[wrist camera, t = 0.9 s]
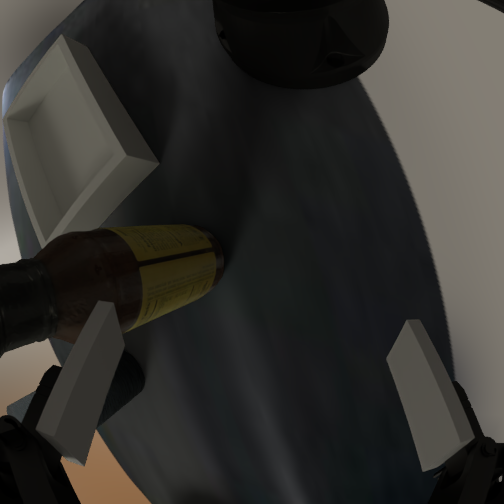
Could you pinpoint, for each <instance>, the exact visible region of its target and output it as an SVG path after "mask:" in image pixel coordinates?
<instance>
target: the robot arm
mask: <svg viewBox="0 0 504 504" xmlns="http://www.w3.org/2000/svg"><path fill="white" fill-rule="evenodd" d="M212 1H213V10H214V18H215V27H216V32H217V35H218V38H219V40H220V43H221V44H222V46H223V48H224V49H225V50H226V52H227V53H228V54H229V56H230V57H231V59H232V60H233V61H234V62H235V63H236V65H237V66H239V67H240V68H241V69H242V70H243V71H245V72H246V73H247V74H249V75H251V76H252V77H254V78H256V79H258V80H260V81H263V82H265V83H269V84H272V85H275V86H280V87H285V88H293V89H316V88H324V87H329V86H334V85H337V84H340V83H343V82H346V81H349V80H351V79H353V78H355V77H357V76H358V75H360V74H362V73H363V72H365V71H366V70H367V69H368V68H370V67H371V65H373V64H374V63H375V61H376V60H377V59H378V57H379V56H380V54H381V53H382V51H383V48H384V46H385V43H386V38H387V33H388V28H389V16H388V11H387V7H386V4H385V1H384V0H212ZM478 1H481V2H483V3H485V4H487V5H489V6H491V7H493V8H495V9H497V10H499V11H501V12H503V13H504V0H478ZM124 347H125V343H124V340H123V336H122V333H121V329H120V325H119V322H118V318H117V314H116V310H115V306H114V303H112V302H105V301H98V302H97V304H96V306H95V308H94V309H93V311H92V313H91V315H90V316H89V318H88V320H87V322H86V324H85V326H84V327H83V329H82V331H81V333H80V335H79V337H78V339H77V340H76V342H75V344H74V346H73V348H72V350H71V352H70V354H69V356H68V358H67V360H66V362H65V364H64V366H63V367H59V366H56V365H53V366H52V367H51V368H49V369H48V370H47V371H46V372H45V373H44V375H43V377H42V379H41V381H40V383H39V384H40V385H39V386H38V387H37V389H36V391H35V392H36V393H35V394H34V396H33V398H32V400H31V402H30V404H29V407H28V409H27V411H26V413H25V416H24V418H23V420H22V422H21V423H20V421H19V420H17V419H16V418H15V417H14V416H11V415H5V416H2V417H0V504H81V503H80V501H79V499H78V497H77V495H76V493H75V491H74V489H73V487H72V485H71V483H70V481H69V478H68V476H67V474H66V472H65V470H64V467H63V465H62V463H61V462H60V460H61V457H62V456H63V457H65V459H67V460H68V461H70V462H73V463H76V464H79V465H82V466H85V463H86V460H87V456H88V453H89V449H90V446H91V443H92V439H93V436H94V433H95V430H96V427H97V423H98V420H99V417H100V414H101V411H102V408H103V405H104V402H105V399H106V396H107V393H108V391H109V388H110V385H111V382H112V379H113V377H114V374H115V371H116V368H117V366H118V363H119V360H120V358H121V355H122V352H123V350H124ZM386 359H387V362H388V365H389V367H390V370H391V373H392V376H393V378H394V381H395V384H396V387H397V390H398V393H399V395H400V398H401V401H402V404H403V407H404V410H405V413H406V417H407V420H408V423H409V426H410V429H411V432H412V436H413V439H414V442H415V446H416V449H417V453H418V456H419V460H420V463H421V467H422V471H423V472H424V471H427V470H430V469H433V468H436V467H438V466H439V465H441V464H442V463H444V462H445V464H446V466H445V467H444V468H442V469H441V470H439V471H438V472H436V473H435V474H434V476H433V478H435V477H437V476H438V475H440V474H441V475H440V477H438V478H437V479H438V482H437V484H436V487H435V489H434V491H433V493H432V496H431V498H430V500H429V502H428V504H504V443H496V442H495V441H494V440H493V439H492V438H490V437H485V436H484V435H483V432H482V430H481V428H480V425H479V423H478V420H477V418H476V416H475V413H474V411H473V408H471V404H470V402H469V400H468V397H467V395H466V393H465V391H464V389H463V388H462V387H461V386H460V384H459V383H458V382H457V381H454V382H451V380H450V378H449V376H448V374H447V372H446V369H445V367H444V365H443V363H442V361H441V359H440V357H439V355H438V353H437V351H436V349H435V347H434V346H433V344H432V342H431V340H430V338H429V336H428V334H427V332H426V330H425V329H424V327H423V325H422V323H421V321H420V320H406V322H405V324H404V326H403V328H402V330H401V332H400V334H399V336H398V338H397V340H396V342H395V344H394V346H393V347H392V349H391V351H390V353H389V355H388V356H387V358H386ZM500 476H502V481H501V482H499V477H500Z"/></svg>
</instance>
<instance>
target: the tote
mask: <svg viewBox="0 0 504 504" xmlns="http://www.w3.org/2000/svg"><path fill="white" fill-rule="evenodd" d="M3 124H4V129H5V134H6V139H7V143H8V147H9V151H10V155H11V159H12V163H13V167H14V170H15V174H16V177H17V181H18V184H19V187H20V190H21V193H22V197H23V200H24V202H25V205H26V208H27V211H28V214H29V217H30V219H31V222H32V225H33V227H34V230H35V232H36V235H37V237H38V240H39V242H40V245H41V247H42V249H43V248H44V247H45V246H46V245H47V244H48V243H49V242H50V241H52V240H53V239H54V238H56V237H57V236H60V235H62V234H66V233H68V232H72V231H74V232H75V231H91V230H94V229H97V228H99V227H100V225H101V224H102V223H103V222H104V221H105V220H106V219H107V218H108V217H109V215H110V214H111V213H112V212H113V211H114V210H115V209H116V208H117V207H118V206H119V205H120V204H121V202H122V201H123V200H124V199H125V198H126V197H127V196H128V195H129V194H130V193H131V192H132V191H133V190H134V189H135V188H136V187H137V186H138V185H139V184H140V183H141V182H142V181H143V180H144V179H145V178H146V177H147V176H148V175H149V174H150V173H151V172H152V171H153V170H154V169H155V168H156V167H157V166H158V165H159V164H160V163H159V162H158V160H157V158H156V157H155V155H154V154H153V152H152V151H151V149H150V148H149V146H148V144H147V143H146V141H145V140H144V138H143V137H142V135H141V133H140V132H139V130H138V129H137V127H136V126H135V124H134V122H133V121H132V119H131V118H130V116H129V114H128V113H127V111H126V110H125V108H124V106H123V105H122V103H121V102H120V100H119V98H118V97H117V95H116V93H115V92H114V90H113V89H112V87H111V85H110V84H109V82H108V80H107V79H106V77H105V75H104V74H103V72H102V70H101V69H100V67H99V65H98V64H97V62H96V60H95V59H94V57H93V55H92V54H91V52H90V50H89V49H88V47H86V46H84V45H83V44H81V43H79V42H77V41H75V40H73V39H71V38H69V37H67V36H65V35H63V34H61V35H60V37H59V38H58V39H57V40H56V41H55V43H54V44H53V45H52V46H51V48H50V49H49V50H48V51H47V53H46V54H45V55H44V57H43V58H42V59H41V61H40V62H39V63H38V65H37V66H36V67H35V69H34V70H33V72H32V73H31V74H30V76H29V77H28V79H27V80H26V82H25V83H24V85H23V86H22V88H21V89H20V91H19V92H18V94H17V96H16V97H15V99H14V101H13V102H12V104H11V106H10V107H9V109H8V111H7V112H6V114H5V116H4V118H3Z"/></svg>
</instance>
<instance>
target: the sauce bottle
mask: <svg viewBox="0 0 504 504" xmlns="http://www.w3.org/2000/svg"><path fill="white" fill-rule="evenodd" d="M223 271H224V256H223V252H222V247H221V245H220V243H219V242H218V240H217V239H216V238H215V237H214V236H213V235H212V234H211V233H210V232H208V231H207V230H205V229H204V228H202V227H200V226H196V225H194V226H189V225H184V224H179V225H151V226H130V227H110V228H97V229H94V230H91V231H75V232H74V231H72V232H68V233H66V234H62V235H60V236H57V237H56V238H54V239H53V240H52V241H50V242H49V243H48V244H47V245H46V246H45V247H44V248H43V249H42V250H41V251H40V252H39V253H38V254H37V255H36V256H35V257H34V258H30V259H21V260H19V261H17V262H16V263H9V264H2V265H0V358H1V356H2V355H3V354H4V353H5V352H7V351H10V350H13V349H16V348H19V347H22V346H24V345H28V344H31V343H34V342H35V341H37V342H41V341H44V340H45V339H47V338H52V337H53V338H56V339H61V340H64V341H67V342H69V343H72V344H75V342H76V340H77V339H78V337H79V335H80V333H81V331H82V329H83V327H84V326H85V324H86V322H87V320H88V318H89V316H90V315H91V313H92V311H93V309H94V308H95V306H96V304H97V302H98V301H105V302H112V303H114V306H115V310H116V314H117V318H118V322H119V325H120V329H121V333H122V334H123V333H125V332H127V331H130V330H132V329H134V328H136V327H138V326H140V325H143V324H145V323H147V322H149V321H151V320H153V319H156V318H158V317H160V316H162V315H164V314H166V313H169V312H171V311H173V310H175V309H177V308H180V307H182V306H184V305H186V304H188V303H191V302H193V301H195V300H197V299H199V298H201V297H202V296H203V295H205V294H206V293H208V292H209V291H211V290H212V289H213V288H214V287H215V286H216V285H217V283H218V282H219V280H220V279H221V278H222V276H223Z"/></svg>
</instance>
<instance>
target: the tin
mask: <svg viewBox="0 0 504 504" xmlns="http://www.w3.org/2000/svg"><path fill="white" fill-rule="evenodd" d="M144 385H145V378H144V374H143V371H142V369H141V367H140V365H139V364H138V362H137V361H136V360H135V359H134V357H133V356H131V355H130V354H129V353H128V352H126V351H125V350H123V352H122V355H121V358H120V360H119V363H118V366H117V368H116V371H115V374H114V377H113V379H112V382H111V385H110V388H109V391H108V393H107V396H106V399H105V402H104V405H103V408H102V411H101V414H100V417H99V420H98V423H97V427H96V429H97V428H98V427H99V426H100V425H102V424H103V423H104V422H105V421H106V420H108V419H109V418H110V417H111V416H112V415H114V414H115V413H116V412H117V411H119V410H120V409H121V408H122V407H123V406H125V405H126V404H127V403H128V402H129V401H131V400H132V399H133V398H134V397H135V396H137V395H138V394H139V393H140V392H141V391H142V390H143V388H144ZM35 393H36V392H35V391H34V392H32V393H31V394H29V395H27V396H25V397H23V398H21V399H20V400H18V401H16V402H14V403H13V404H11V405H9V406H7V414H8V415H11V416H14V417H15V418H16V419H17V420H19V421H20V423H21V422H22V420H23V418H24V416H25V413H26V411H27V409H28V407H29V404H30V402H31V400H32V398H33V396H34V394H35Z"/></svg>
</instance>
